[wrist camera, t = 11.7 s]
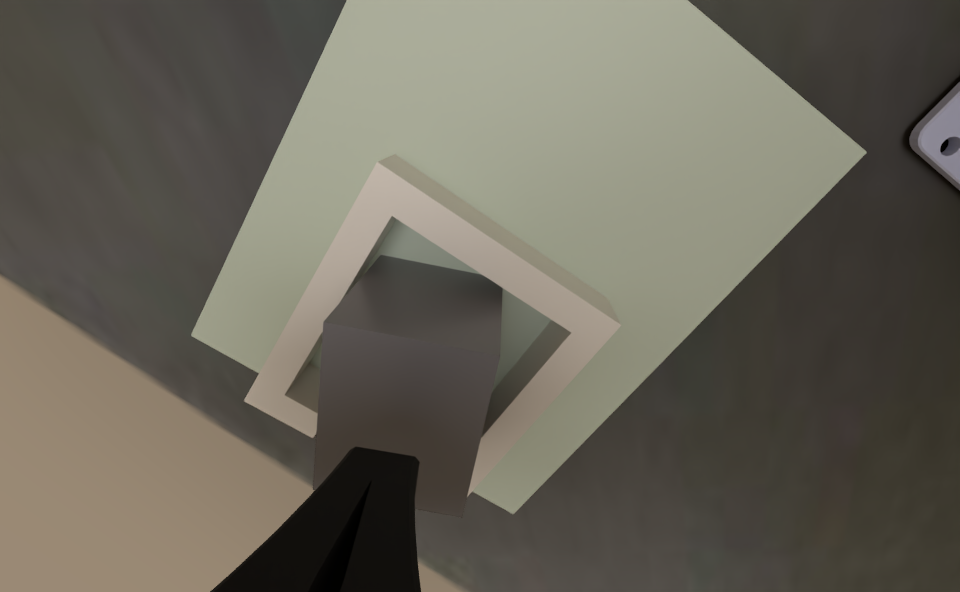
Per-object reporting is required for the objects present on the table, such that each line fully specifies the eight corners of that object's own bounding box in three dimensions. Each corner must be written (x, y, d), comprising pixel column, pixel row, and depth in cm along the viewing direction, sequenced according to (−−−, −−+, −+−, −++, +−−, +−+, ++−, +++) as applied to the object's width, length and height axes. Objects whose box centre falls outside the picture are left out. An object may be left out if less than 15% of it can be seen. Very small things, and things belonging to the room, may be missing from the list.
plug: (502, 278, 15) (500, 356, 10) (469, 430, 17) (454, 549, 13) (381, 254, 15) (322, 322, 10) (363, 410, 17) (310, 522, 13)
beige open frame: (607, 298, 15) (621, 325, 13) (458, 471, 18) (452, 513, 16) (394, 154, 14) (377, 161, 12) (272, 368, 17) (244, 400, 15)
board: (843, 149, 14) (867, 152, 13) (513, 495, 20) (513, 514, 19) (448, -182, 11) (443, -207, 11) (207, 323, 17) (191, 335, 16)
